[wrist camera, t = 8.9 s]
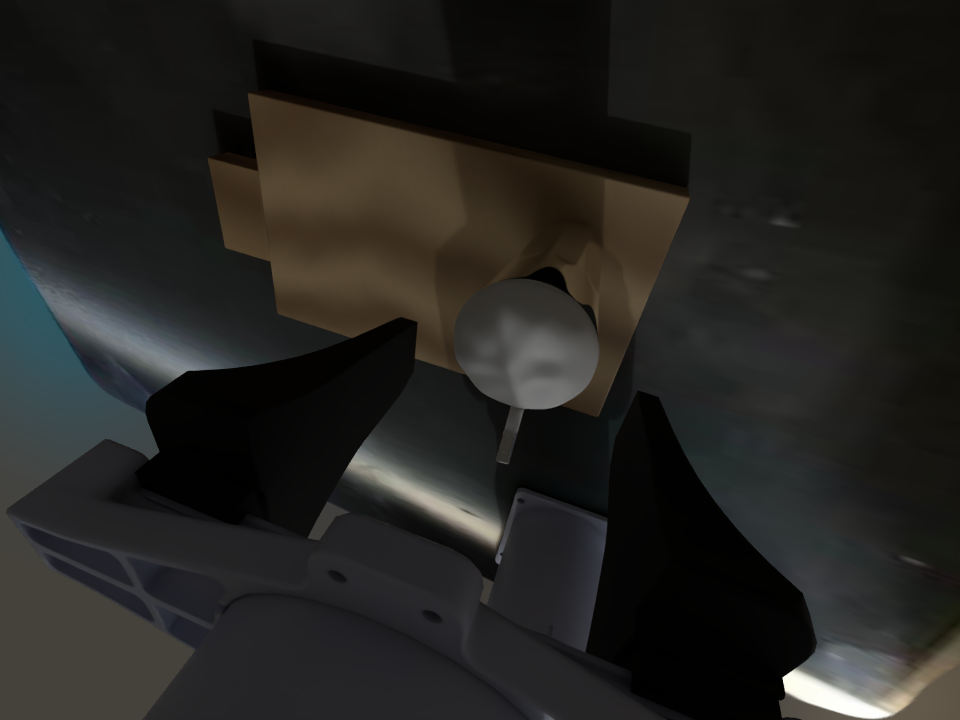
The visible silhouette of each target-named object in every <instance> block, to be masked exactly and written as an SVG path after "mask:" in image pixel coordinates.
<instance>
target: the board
mask: <svg viewBox="0 0 960 720" xmlns="http://www.w3.org/2000/svg"><path fill="white" fill-rule="evenodd" d="M248 99H249V106H250V114H251V121H252V129H253V136H254V143H255V151H256V158H257V160H256V159H252V158H249V157H245V156H241V155H237V154H234V153H230V152H227V153H223V154H219V155H215V156H211V157H208V162H209V167H210V172H211V177H212V183H213V188H214V193H215V198H216V203H217V208H218V213H219V218H220V223H221V228H222V234H223V239H224V244H225V247H226V248H228V249H231V250H235V251H238V252H241V253H244V254H248V255H251V256H254V257H258V258H261V259H264V260H267V261H271V268H272V276H273V283H274V291H275V298H276V305H277V313H278V314H280V315H283V316H287V317H290V318H293V319H296V320H299V321H302V322H305V323H308V324H311V325H314V326H317V327H320V328H323V329H327V330H330V331H333V332H336V333H339V334H342V335H345V336H348V337H351V338H353V337H356V336H358V335H360V334H363V333H365V332H367V331H369V330H372V329H374V328H376V327H378V326H380V325H383V324H385V323H387V322H389V321H392V320H394V319H396V318H399V317H403V318H407V319H410V320H413V321H416V322H418V326H417V338H416V350H415V358H416V359H419V360H422V361H425V362H428V363H431V364H434V365H437V366H441V367H444V368H447V369H450V370H453V371H456V372H459V373H462V374H465V375H467V374H466V373H465V372H464V370H463V369H462V368H461V367H460V365H459V363H458V362H457V359H456V356H455V351H454V330H455V323H456V319H457V316H458V314H459V312H460V310H461V308H462V307H463V305H464V304H465V303H466V302H467V300H468V299H469V298H470V297H471V296H473V295H474V294H475V293H476V292H477V291H478V290H480V289H481V288H482V287H483V286H484V285H485V284H486V283H487V282H488V281H489V280H490V279H491V278H492V277H494V276H495V275H496V274H497V273H498V272H499V271H500V270H501V269H502V268H504V267H505V266H506V265H507V264H508V263H509V262H511V261H512V260H513V259H514V258H515V257H516V256H517V255H518V254H519V253H520V252H521V251H522V250H523V249H524V247H525V246H526V245H527V244H528V243H529V242H530V241H531V240H532V239H533V238H534V237H535V236H536V235H537V233H538V232H539V231H540V230H541V229H542V228H543V227H544V226H545V225H546V224H548V223H554V222H559V221H564V220H572V221H574V222H577V223H579V224H581V225H583V226H585V227H587V228H589V229H591V230H592V231H593V233H594V235H595V237H596V239H597V241H598V243H599V245H600V246H601V248H602V250H603V253H602V268H601V282H600V297H599V360H598V364H597V367H596V370H595V373H594V375H593V377H592V379H591V381H590V383H589V384H588V385H587V387H586V388H585V389H584V390H583V391H582V392H581V393H579V394H578V395H577V396H576V397H574V398H573V399H571V400H569V401H567V402H566V403H564V404H561V406H564V407H567V408H570V409H573V410H576V411H579V412H582V413H585V414H588V415H592V416H595V417H598V416H599V414H600V412H601V409H602V407H603V405H604V402H605V400H606V397H607V395H608V393H609V390H610V388H611V385H612V383H613V381H614V378H615V376H616V374H617V371H618V369H619V366H620V364H621V362H622V359H623V357H624V355H625V352H626V350H627V347H628V345H629V343H630V340H631V338H632V335H633V333H634V331H635V328H636V326H637V324H638V321H639V319H640V316H641V314H642V312H643V309H644V307H645V305H646V302H647V300H648V297H649V295H650V293H651V290H652V288H653V286H654V283H655V281H656V278H657V276H658V274H659V271H660V269H661V266H662V264H663V262H664V259H665V257H666V255H667V252H668V250H669V247H670V245H671V243H672V240H673V238H674V236H675V233H676V231H677V228H678V226H679V224H680V221H681V219H682V216H683V214H684V212H685V209H686V207H687V205H688V202H689V200H690V195H689V190H688V188H686V187H682V186H678V185H673V184H669V183H665V182H661V181H656V180H652V179H648V178H644V177H639V176H635V175H631V174H627V173H622V172H618V171H614V170H609V169H605V168H601V167H597V166H592V165H588V164H584V163H580V162H575V161H571V160H567V159H563V158H558V157H554V156H550V155H546V154H541V153H537V152H533V151H529V150H524V149H520V148H516V147H512V146H507V145H503V144H499V143H495V142H490V141H486V140H482V139H478V138H473V137H469V136H465V135H461V134H456V133H452V132H448V131H444V130H439V129H435V128H431V127H427V126H422V125H418V124H414V123H410V122H405V121H401V120H397V119H393V118H388V117H384V116H380V115H376V114H371V113H367V112H363V111H358V110H354V109H350V108H346V107H341V106H337V105H333V104H329V103H324V102H320V101H316V100H312V99H307V98H303V97H299V96H295V95H290V94H286V93H282V92H278V91H273V90H269V89H268V90H260V91H251V92H248Z"/></svg>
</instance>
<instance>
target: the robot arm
mask: <svg viewBox="0 0 960 720" xmlns="http://www.w3.org/2000/svg"><path fill="white" fill-rule="evenodd" d="M417 326H418V322H416V321H413V320H410V319H407V318H403V317H399V318H396V319H394V320H392V321H389V322H387V323H385V324H383V325H380V326H378V327H376V328H374V329H372V330H369V331H367V332H365V333H363V334H360V335H358V336H356V337H353V338H351V339H348V340H346V341H343V342H341V343H338V344H335V345H333V346H330V347H328V348H325V349H322V350H319V351H316V352H312V353H309V354H305V355H302V356H298V357H294V358H290V359H285V360H280V361H275V362H271V363H266V364H260V365H253V366H247V367H238V368H229V369H216V370H199V371H187V372H185V373H184V374H182V375H181V376H179V377H178V378H176V379H175V380H174V381H172V382H171V383H169V384H168V385H166V386H165V387H163V388H162V389H161V390H159V391H158V392H156V393H155V394H153V395H152V396H150V398H149V399H148V400H147V402H146V416H147V420H148V423H149V426H150V428H151V431H152V433H153V436H154V438H155V441H156V443H157V446H158V448H159V451H160V452H159V453H158V454H157V455H155V456H154V457H153V458H152V459H151V460H149V459H148V458H147V457H146V456H145V455H143V454H142V453H140V452H138V451H136V450H134V449H131V448H129V447H126V446H124V445H121V444H119V443H116V442H114V441H111V440H107V439H105V440H103V441H102V442H100V443H99V444H98V445H96V446H95V447H94V448H92V449H91V450H89V451H88V452H87V453H85V454H84V455H82V456H81V457H79V458H78V459H77V460H75V461H74V462H72V463H71V464H70V465H68V466H67V467H65V468H64V469H63V470H61V471H60V472H58V473H57V474H55V475H54V476H53V477H51V478H50V479H49V480H47V481H46V482H44V483H43V484H41V485H40V486H39V487H37V488H36V489H34V490H33V491H32V492H30V493H29V494H27V495H26V496H25V497H23V498H22V499H20V500H19V501H17V502H16V503H15V504H13V505H12V506H10V507H9V508H8V509H7V512H6V513H7V515H8V516H9V517H10V519H11V520H12V521H13V523H14V524H15V525H16V526H17V528H18V529H19V530H20V532H21V533H22V534H23V535H24V537H25V538H26V539H27V540H28V542H29V543H30V544H31V545H32V547H33V548H34V549H35V551H36V552H37V553H38V555H39V556H40V557H41V558H42V560H43V561H44V562H45V564H46V565H47V566H48V567H49V568H50V569H51V570H53V571H55V572H57V573H60V574H61V575H63V576H65V577H68V578H70V579H72V580H74V581H76V582H78V583H80V584H82V585H83V586H85V587H87V588H89V589H91V590H93V591H95V592H97V593H99V594H100V595H102V596H104V597H106V598H107V599H109V600H111V601H113V602H114V603H116V604H118V605H119V606H121V607H123V608H125V609H126V610H128V611H130V612H131V613H133V614H135V615H136V616H138V617H140V618H141V619H143V620H145V621H147V622H148V623H150V624H151V625H153V626H155V627H157V628H158V629H160V630H162V631H163V632H165V633H166V634H168V635H170V636H171V637H173V638H175V639H176V640H178V641H180V642H181V643H183V644H185V645H186V646H188V647H190V648H191V649H193V650H195V652H194V653H193V655H192V656H191V657H190V658H189V660H188V661H187V663H186V664H185V665H184V666H183V668H182V669H181V670H180V671H179V673H178V674H177V675H176V677H175V678H174V679H173V681H172V682H171V683H170V685H169V686H168V687H167V688H166V690H165V691H164V692H163V694H162V695H161V696H160V698H159V699H158V700H157V701H156V703H155V704H154V705H153V707H152V708H151V709H150V711H149V712H148V713H147V714H146V716H145V717H144V719H143V720H801V719H797V718H789V717H785V718H782V716H781V711H780V706H779V700H783V699H784V698H785V689H784V684H783V679H782V677H784V676H785V675H787V674H788V673H789V672H791V671H792V670H794V669H795V668H797V667H798V666H799V665H801V664H802V663H804V662H805V661H806V660H807V659H808V658H809V657H810V656H811V655H812V654H813V653H814V652H815V648H816V644H817V641H816V637H815V633H814V629H813V625H812V621H811V617H810V613H809V610H808V607H807V604H806V602H805V599H804V596H803V593H802V592H801V591H800V590H798V589H797V588H796V587H795V586H794V585H793V584H792V583H791V582H790V581H789V580H787V579H786V578H785V577H784V576H783V575H782V574H781V573H780V572H779V571H778V570H776V569H775V568H774V567H773V566H772V565H771V564H770V563H769V562H768V561H767V560H766V559H765V558H764V557H763V556H762V555H761V554H760V553H759V552H758V551H757V550H756V549H755V548H754V547H753V546H752V545H751V544H750V543H749V542H748V541H747V539H746V538H745V537H744V536H743V535H742V534H741V533H740V532H739V531H738V529H737V528H736V527H735V526H734V525H733V523H732V522H731V521H730V520H729V519H728V517H727V516H726V515H725V514H724V513H723V511H722V510H721V509H720V508H719V506H718V505H717V504H716V502H715V501H714V500H713V498H712V497H711V495H710V494H709V492H708V491H707V490H706V488H705V487H704V485H703V484H702V482H701V481H700V479H699V478H698V476H697V475H696V473H695V471H694V470H693V468H692V466H691V464H690V463H689V461H688V459H687V457H686V456H685V454H684V452H683V450H682V448H681V446H680V444H679V442H678V440H677V438H676V436H675V434H674V431H673V429H672V427H671V425H670V422H669V420H668V418H667V416H666V413H665V411H664V409H663V406H662V404H661V401H660V399H659V397H657V396H654V395H651V394H647V393H644V392H641V391H637V393H636V395H635V398H634V400H633V402H632V404H631V406H630V408H629V410H628V413H627V415H626V417H625V419H624V421H623V423H622V425H621V427H620V430H619V432H618V434H617V436H616V439H615V444H614V449H613V454H612V459H611V465H610V479H609V497H608V517H604V516H601V515H598V514H596V513H593V512H590V511H587V510H584V509H582V508H579V507H576V506H573V505H570V504H568V503H565V502H562V501H559V500H557V499H554V498H551V497H548V496H545V495H543V494H540V493H537V492H534V491H531V490H529V489H526V488H518V489H517V491H516V494H515V497H514V500H513V504H512V507H511V510H510V513H509V516H508V520H507V523H506V526H505V529H504V532H503V535H502V539H501V542H500V545H499V548H498V551H497V555H496V558H495V561H496V562H497V563H498V564H499V567H498V571H497V574H496V577H495V580H494V584H493V587H492V590H491V594H490V597H489V600H488V603H487V605H485V604H483V603H482V602H480V597H481V594H482V591H483V588H484V586H483V580H482V574H481V573H480V571H479V570H478V569H477V568H476V566H475V565H474V564H473V563H472V562H471V561H470V560H469V559H468V558H467V557H465V556H463V555H462V554H460V553H458V552H456V551H455V550H453V549H451V548H448V547H446V546H443V545H441V544H438V543H436V542H433V541H431V540H428V539H425V538H423V537H420V536H418V535H415V534H413V533H410V532H408V531H405V530H403V529H400V528H397V527H395V526H392V525H390V524H387V523H385V522H382V521H380V520H377V519H375V518H372V517H370V516H365V515H361V514H356V513H347V514H343V515H340V516H336V517H335V519H334V520H333V522H332V523H331V525H330V526H329V527H328V529H327V530H326V532H325V533H324V535H323V536H322V538H321V539H320V540H319V541H318V540H313V539H308V536H309V534H310V532H311V530H312V528H313V526H314V524H315V522H316V520H317V519H318V517H319V515H320V513H321V511H322V510H323V508H324V506H325V504H326V502H327V501H328V499H329V497H330V495H331V493H332V492H333V490H334V488H335V487H336V485H337V483H338V481H339V480H340V478H341V476H342V475H343V473H344V471H345V470H346V468H347V466H348V465H349V463H350V462H351V460H352V458H353V457H354V455H355V453H356V452H357V450H358V449H359V448H360V446H361V445H362V443H363V442H364V440H365V439H366V438H367V437H368V435H369V434H370V433H371V432H372V430H373V429H374V428H375V426H376V425H377V424H378V423H379V421H380V420H381V419H382V418H383V416H384V415H385V414H386V412H387V411H388V410H389V409H390V407H391V406H392V405H393V403H394V402H395V401H396V400H397V398H398V397H399V396H400V394H401V393H402V391H403V389H404V387H405V386H406V384H407V382H408V380H409V379H410V377H411V375H412V373H413V371H414V362H415V350H416V338H417Z"/></svg>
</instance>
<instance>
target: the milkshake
mask: <svg viewBox="0 0 960 720" xmlns="http://www.w3.org/2000/svg"><path fill="white" fill-rule="evenodd" d="M602 253H603V250H602V248H601V246H600V245H599V243H598V241H597V239H596V237H595V235H594V233H593V231H592V230H591V229H589V228H587V227H585V226H583V225H581V224H579V223H577V222H574V221H572V220H564V221H559V222H554V223H548V224H546V225H545V226H544V227H543V228H542V229H541V230H540V231H539V232H538V233H537V235H536V236H535V237H534V238H533V239H532V240H531V241H530V242H529V243H528V244H527V245H526V246H525V247H524V249H523V250H522V251H521V252H520V253H519V254H518V255H517V256H516V257H515V258H514V259H513V260H512V261H511V262H509V263H508V264H507V265H506V266H505V267H504V268H502V269H501V270H500V271H499V272H498V273H497V274H496V275H495V276H494V277H492V278H491V279H490V280H489V281H488V282H487V283H486V284H485V285H484V286H483V287H482V288H481V289H480V290H478V291H477V292H476V293H475V294H474V295H473V296H471V297H470V298H469V299H468V300H467V302H466V303H465V304H464V305H463V307H462V308H461V310H460V312H459V314H458V316H457V319H456V323H455V330H454V351H455V356H456V359H457V362H458V363H459V365H460V367H461V368H462V369H463V370H464V372H465V373H466V374H467V375H468V377H469V378H470V380H471V381H472V382H473V384H474V385H475V386H476V387H477V388H478V389H479V390H480V391H481V392H482V393H484V394H485V395H487V396H489V397H491V398H493V399H495V400H497V401H500V402H502V403H505V404H507V405H510V406H511V407H510V410H509V414H508V417H507V421H506V424H505V427H504V431H503V434H502V438H501V441H500V444H499V448H498V451H497V455H496V459H495V460H496V461H497V462H501V463H505V464H509V462H510V459H511V456H512V452H513V449H514V445H515V441H516V438H517V434H518V431H519V427H520V423H521V420H522V416H523V413H524V409H549V408H553V407H556V406H559V405H561V404H564V403H566V402H567V401H569V400H571V399H573V398H574V397H576V396H577V395H578V394H579V393H581V392H582V391H583V390H584V389H585V388H586V387H587V385H588V384H589V383H590V381H591V379H592V377H593V375H594V373H595V370H596V367H597V364H598V360H599V297H600V282H601V268H602Z"/></svg>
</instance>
